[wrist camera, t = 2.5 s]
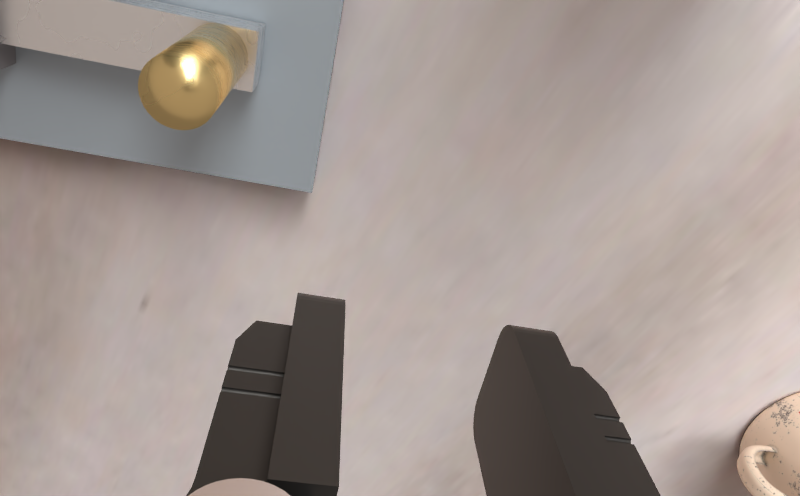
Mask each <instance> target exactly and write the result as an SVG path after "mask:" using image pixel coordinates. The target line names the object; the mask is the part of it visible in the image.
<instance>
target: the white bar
mask: <svg viewBox="0 0 800 496" xmlns="http://www.w3.org/2000/svg"><path fill="white" fill-rule="evenodd" d="M265 26H266V24H263V23H259V22H254V21H249V20H244V19H240V18H235V17H230V16H226V15H221V14H216V13H211V12H207V11H202V10H197V9H193V8H188V7H183V6H178V5H174V4H169V3H164V2H160V1H155V0H0V43H2V44H7V45H12V46H17V47H22V48H28V49H33V50H38V51H43V52H48V53H53V54H58V55H63V56H68V57H74V58H79V59H84V60H89V61H94V62H99V63H104V64H109V65H114V66H120V67H125V68H130V69H135V70H140V71H141V73H140V75H139V79H138V92H139V97H140V100H141V102H142V104H143V106H144V108H145V109H146V111H147V112H148V113H149V114H150V115H151V117H152V118H154V119H155V120H156V121H157V122H159V123H160V124H162V125H164V126H166V127H169V128H172V129H176V130H191V129H195V128H198V127H200V126H202V125H203V124H205V123H206V122H207V121H208V120H209V119H210V118H211V117H212V116H213V114H214V113H215V112H216V110H217V109H218V108H219V106H220V105H221V103H222V102H223V101H224V99H225V98H226V97H227V95H228V94H229V93H230V91H231V90H232V89H237V90H242V91H247V92H253V90H254V89H255V87H256V85H257V84H258V82H259V78H260V70H261V61H262V52H263V43H264V34H265Z"/></svg>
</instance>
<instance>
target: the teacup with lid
mask: <svg viewBox="0 0 800 496" xmlns="http://www.w3.org/2000/svg"><path fill="white" fill-rule="evenodd" d="M737 470H738V473H739V476H740V478H741V480H742V482H743V484H744V485H745V487H746V488H747V490H748V491H749V492H750V493H751V495H752V496H800V392H799V393H796V394H793V395H791V396H788V397H786V398H784V399H782V400H780V401H778V402H776V403H774V404H773V405H771V406H770V407H768V408H767V409H765V410H764V411H763V412H762V413H761V414H760V415H758V416H757V417H756V418H755V420H754V421H753V422H752V423H751V424H750V426H749V427H748V428H747V430H746V432H745V433H744V435H743V438H742V440H741V444H740V449H739V458H738V460H737Z"/></svg>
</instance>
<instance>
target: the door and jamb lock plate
mask: <svg viewBox="0 0 800 496" xmlns="http://www.w3.org/2000/svg"><path fill="white" fill-rule="evenodd" d="M155 1H160V2H164V3H169V4H174V5H178V6H183V7H188V8H193V9H197V10H202V11H207V12H211V13H216V14H221V15H226V16H230V17H235V18H240V19H244V20H249V21H254V22H259V23H263V24H266V26H265V34H264V43H263V52H262V61H261V70H260V78H259V82H258V84H257V85H256V87H255V89H254V90H253V92H247V91H242V90H237V89H232V90H231V91H230V93H229V94H228V95H227V97H226V98H225V99H224V101H223V102H222V103H221V105H220V106H219V108H218V109H217V110H216V112H215V113H214V114H213V116H212V117H211V118H210V119H209V120H208V121H207V122H206V123H205V124H203V125H202V126H200V127H198V128H195V129H191V130H176V129H172V128H169V127H166V126H164V125H162V124H160V123H159V122H157V121H156V120H155V119H154V118H152V117H151V115H150V114H149V113H148V112H147V111H146V109H145V108H144V106H143V104H142V102H141V100H140V97H139V92H138V79H139V75H140V73H141V71H140V70H135V69H130V68H125V67H120V66H114V65H109V64H104V63H99V62H94V61H89V60H84V59H79V58H74V57H68V56H63V55H58V54H53V53H48V52H43V51H38V50H33V49H28V48H22V47H17V46H12V45H7V44H2V43H0V138H1V139H7V140H12V141H18V142H24V143H30V144H35V145H41V146H47V147H53V148H58V149H64V150H70V151H75V152H81V153H87V154H93V155H98V156H104V157H110V158H115V159H121V160H127V161H133V162H138V163H144V164H150V165H155V166H161V167H167V168H173V169H178V170H184V171H190V172H196V173H201V174H207V175H213V176H218V177H224V178H230V179H236V180H241V181H247V182H253V183H258V184H264V185H270V186H276V187H281V188H287V189H293V190H298V191H304V192H310V193H312V190H313V184H314V178H315V172H316V166H317V160H318V154H319V148H320V142H321V136H322V130H323V124H324V117H325V111H326V105H327V99H328V93H329V87H330V81H331V75H332V69H333V63H334V56H335V50H336V44H337V38H338V32H339V26H340V20H341V14H342V8H343V2H344V0H155Z"/></svg>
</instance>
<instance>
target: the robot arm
mask: <svg viewBox="0 0 800 496" xmlns="http://www.w3.org/2000/svg"><path fill="white" fill-rule="evenodd" d="M344 328H345V300H342V299H335V298H329V297H322V296H315V295H309V294H302V293H298V295H297V301H296V307H295V313H294V319H293V325H292V326H290V325H283V324H276V323H269V322H262V321H256V322H255V323H253V324H252V325H251V326H250V327H249V328H248V329H247V330H246V331H245V332H244V333H243V334H242V335H241V336H239V337H238V338H237V339H236V341H235V344H234V348H233V351H232V354H231V358H230V361H229V365H228V370H227V372H226V375H225V378H224V382H223V385H222V390H221V392H220V395H219V399H218V402H217V406H216V409H215V413H214V416H213V419H212V423H211V426H210V430H209V433H208V436H207V440H206V443H205V447H204V450H203V454H202V457H201V460H200V464H199V467H198V471H197V474H196V477H195V480H194V483H193V485H192V488H191V489H190V491H189V492H188V494H187V496H337V492H338V487H339V464H340V437H341V410H342V383H343V355H344ZM619 418H620V417H619V415H618V413H617V411H616V409H615V407H614V405H613V403H612V401H611V399H610V398H609V396H608V394H607V392H606V391H605V390H604V389H603V388H602V387H601V386H600V385H599V384H598V383H597V382H596V381H595V380H594V379H593V378H592V377H591V376H590V375H589V374H588V373H587V372H586V371H585V370H584V369H583V368H581V367H574V366H571V364H570V362H569V360H568V358H567V356H566V353H565V351H564V349H563V347H562V345H561V343H560V341H559V339H558V337H557V335H556V334H555V333H554V332H552V331H545V330H538V329H532V328H525V327H519V326H512V325H507V326H505V327H504V328H503V330H502V331H501V333H500V335H499V338H498V341H497V344H496V347H495V349H494V352H493V355H492V358H491V361H490V364H489V367H488V370H487V373H486V375H485V378H484V381H483V384H482V387H481V390H480V393H479V396H478V399H477V402H476V407H475V413H474V427H473V428H474V440H475V445H476V449H477V454H478V458H479V463H480V467H481V472H482V477H483V481H484V486H485V490H486V495H487V496H660V494H659V492H658V490H657V488H656V486H655V484H654V482H653V480H652V478H651V476H650V475H649V473H648V471H647V469H646V467H645V465H644V463H643V461H642V459H641V457H640V455H639V453H638V451H637V450H636V448H635V446H634V445H632V444H631V438H630V436H629V434H628V432H627V430H626V428H625V426H624V424H623V423H622V422H619Z"/></svg>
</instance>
